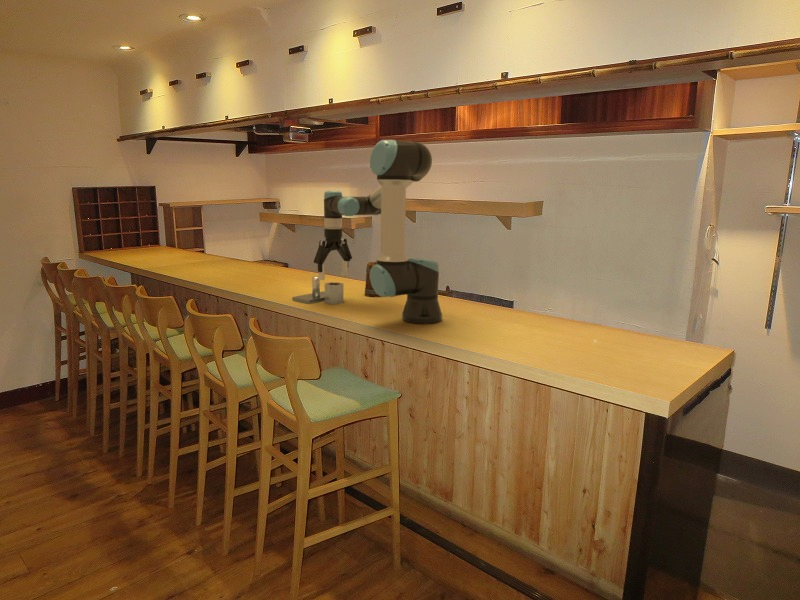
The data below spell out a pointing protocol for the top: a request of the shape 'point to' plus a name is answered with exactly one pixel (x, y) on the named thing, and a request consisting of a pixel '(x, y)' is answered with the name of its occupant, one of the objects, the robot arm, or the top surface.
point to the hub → (334, 293)
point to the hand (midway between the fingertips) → (333, 277)
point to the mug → (368, 288)
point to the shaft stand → (315, 295)
